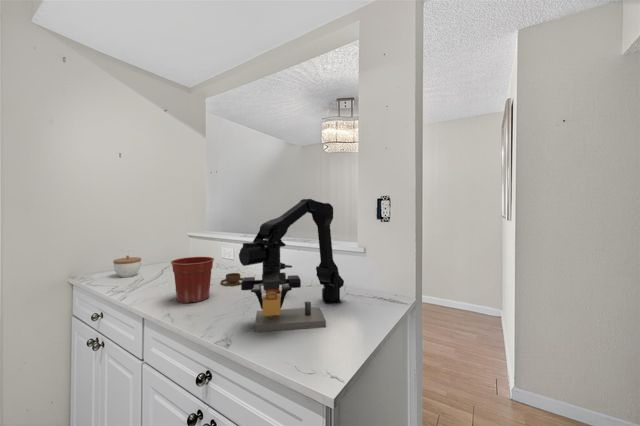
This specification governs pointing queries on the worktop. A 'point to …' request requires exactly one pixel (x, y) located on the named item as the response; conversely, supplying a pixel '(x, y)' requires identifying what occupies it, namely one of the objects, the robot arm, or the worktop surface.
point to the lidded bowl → (127, 266)
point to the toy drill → (282, 266)
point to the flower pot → (192, 278)
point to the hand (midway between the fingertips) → (271, 308)
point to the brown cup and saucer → (232, 279)
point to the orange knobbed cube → (271, 304)
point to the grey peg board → (291, 319)
